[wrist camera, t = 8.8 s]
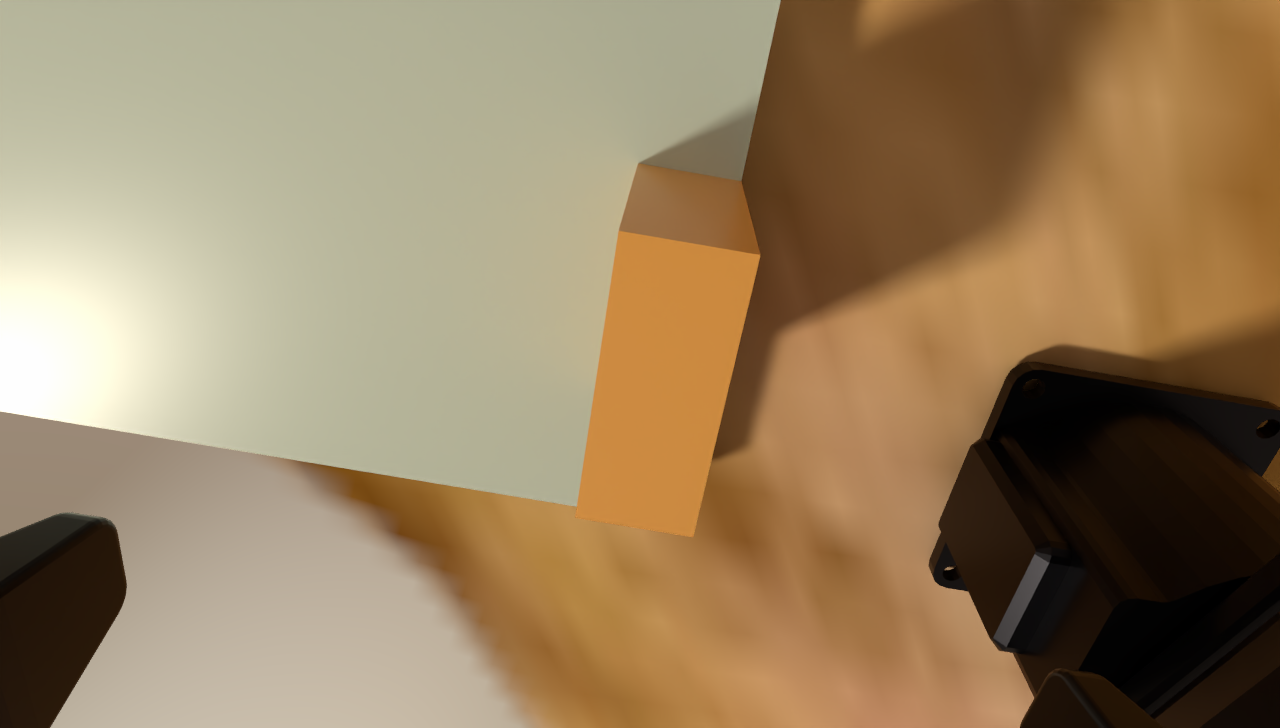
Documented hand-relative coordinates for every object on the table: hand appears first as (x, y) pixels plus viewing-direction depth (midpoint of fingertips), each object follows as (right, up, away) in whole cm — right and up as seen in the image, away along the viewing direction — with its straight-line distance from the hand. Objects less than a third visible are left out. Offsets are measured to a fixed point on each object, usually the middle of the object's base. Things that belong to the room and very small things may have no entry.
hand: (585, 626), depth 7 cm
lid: (-6, +6, +10) cm, 13 cm away
